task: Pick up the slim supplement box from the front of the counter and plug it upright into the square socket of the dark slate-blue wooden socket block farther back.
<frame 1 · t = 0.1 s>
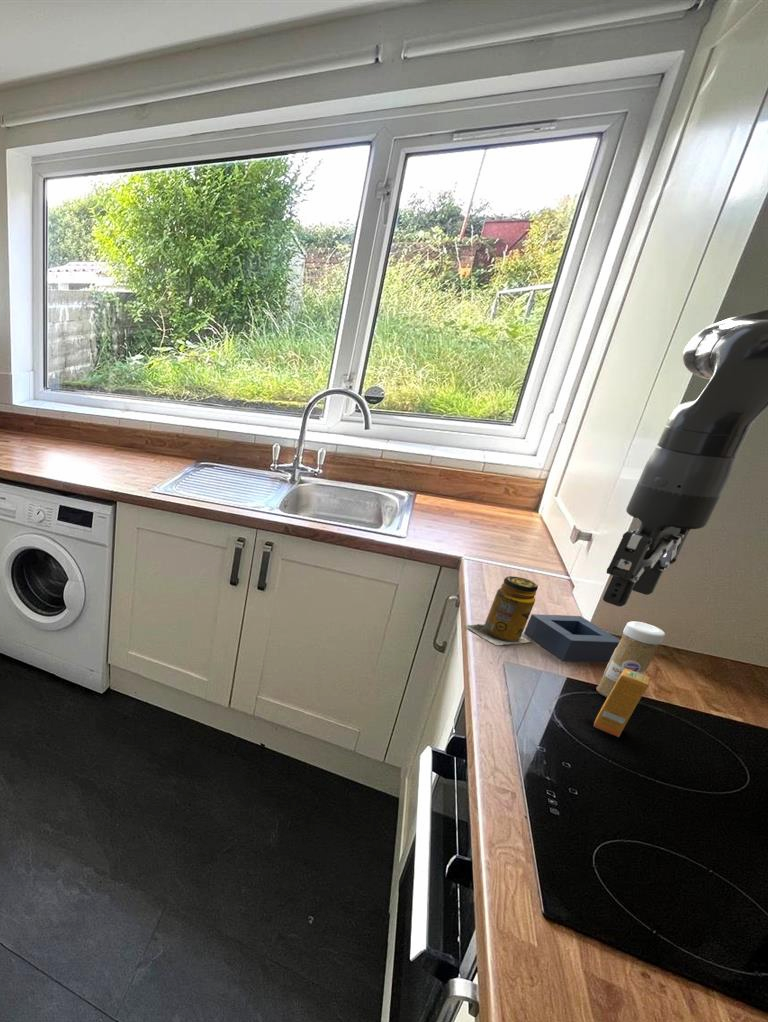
hand: (627, 597, 80), 24 cm above the countertop, tool pointing down, fingers open, 8 cm apart
condiment: (496, 635, 117), on the countertop
supplement box: (607, 729, 91), on the countertop
socket block: (567, 647, 113), on the countertop
sprinkles bottle: (612, 696, 99), on the countertop
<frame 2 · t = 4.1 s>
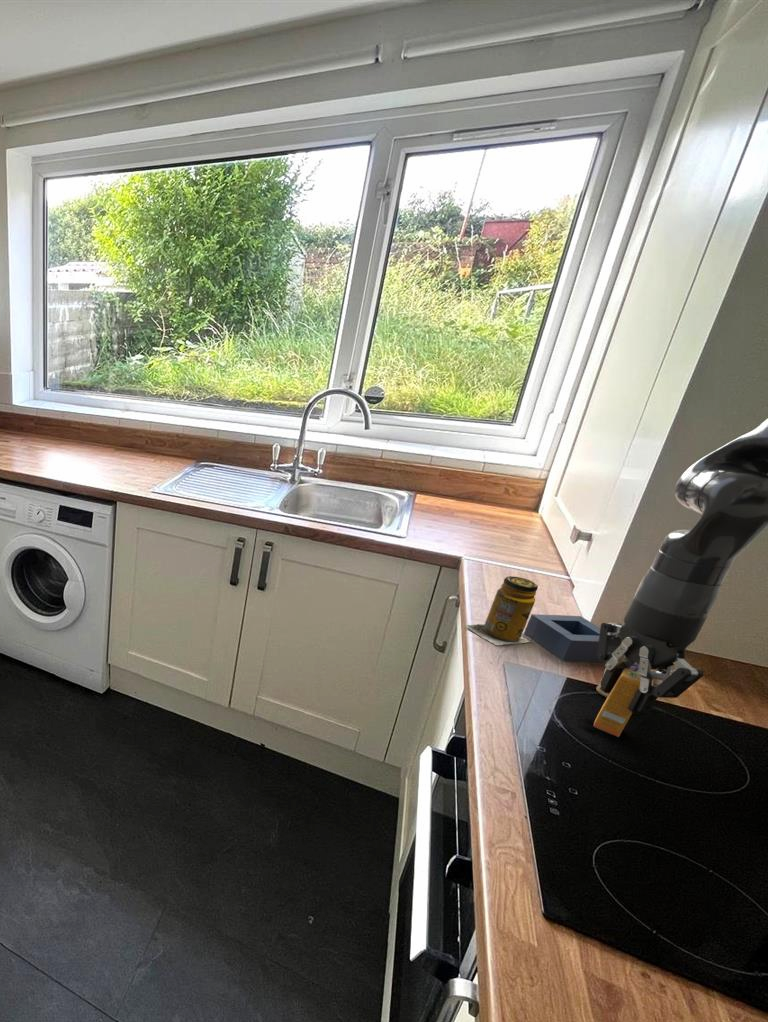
hand: (621, 700, 89), 5 cm above the countertop, tool pointing down, fingers closed on supplement box, 4 cm apart
supplement box: (607, 729, 91), on the countertop, touching gripper
everything else where it was.
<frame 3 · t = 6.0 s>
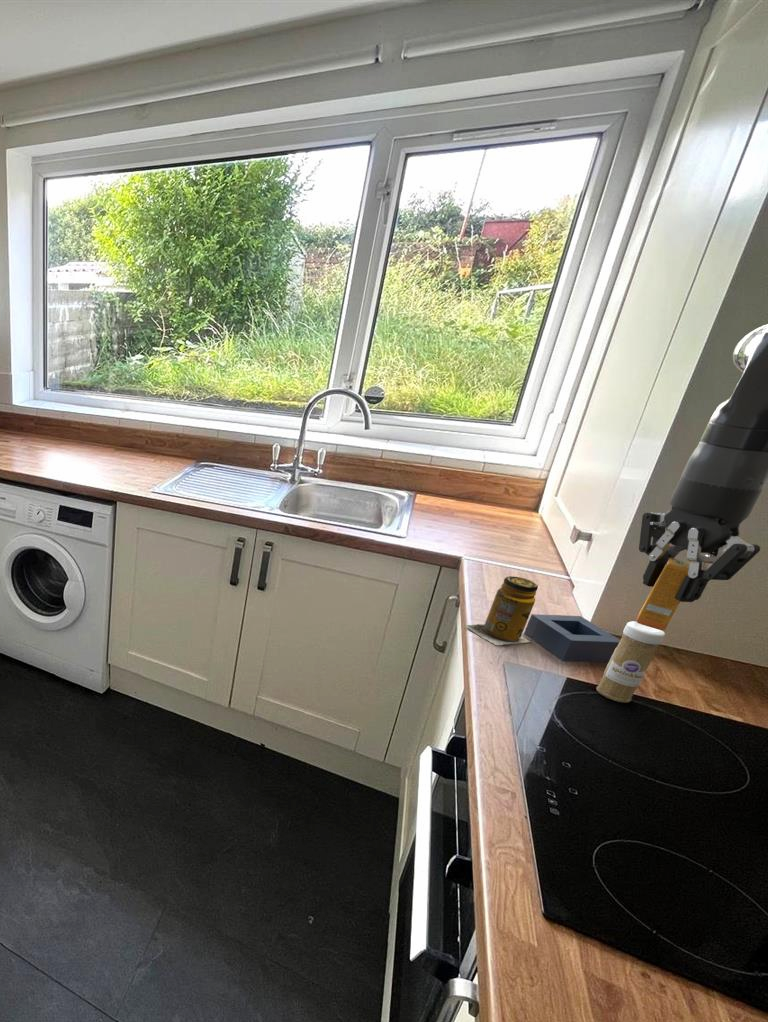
hand: (667, 592, 84), 23 cm above the countertop, tool pointing down, fingers closed on supplement box, 4 cm apart
supplement box: (651, 625, 86), point 18 cm above the countertop, touching gripper
everything else where it was.
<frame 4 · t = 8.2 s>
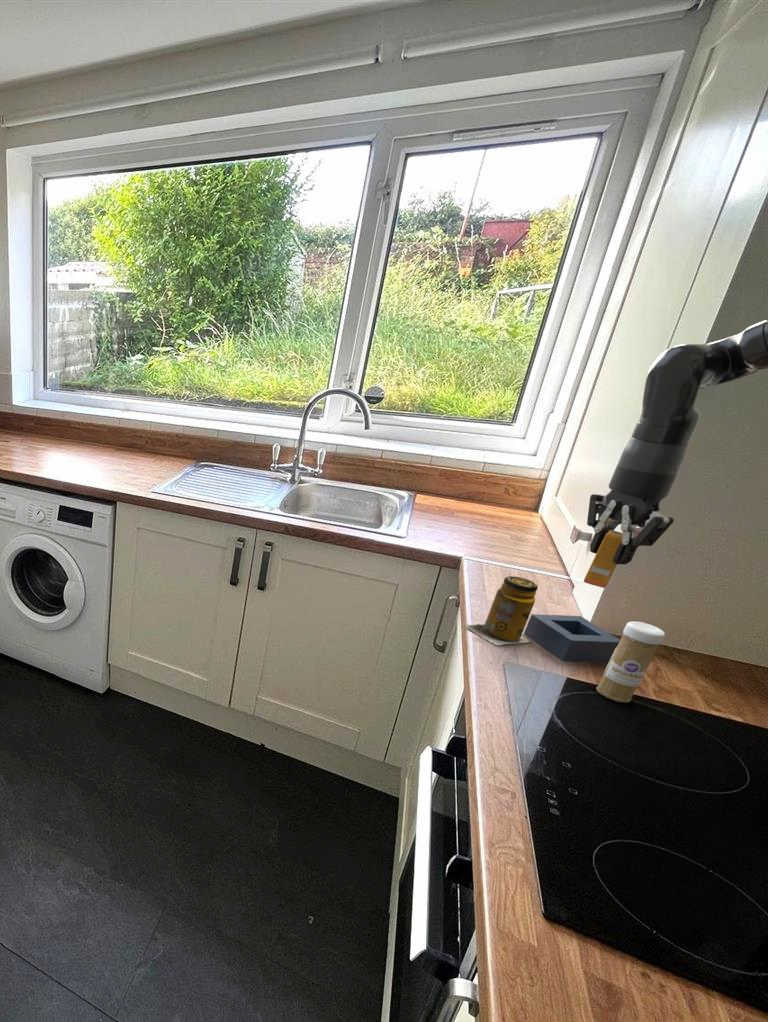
hand: (607, 557, 106), 19 cm above the countertop, tool pointing down, fingers closed on supplement box, 4 cm apart
supplement box: (595, 584, 108), point 14 cm above the countertop, touching gripper
everything else where it was.
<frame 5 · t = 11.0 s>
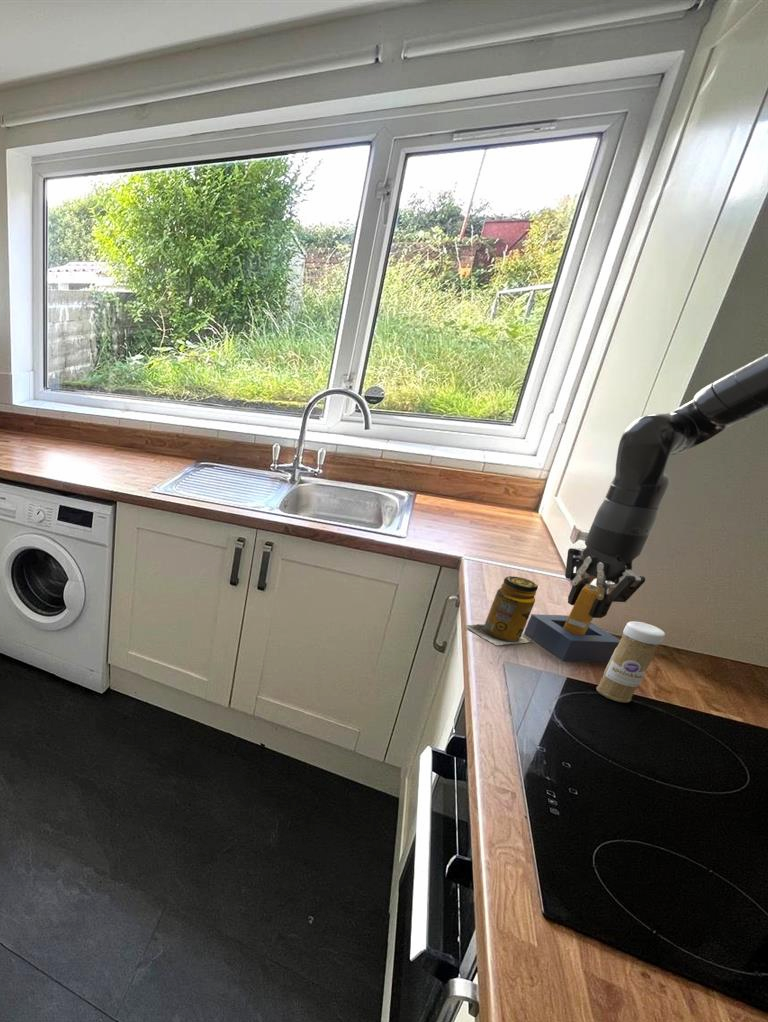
hand: (584, 610, 110), 8 cm above the countertop, tool pointing down, fingers closed on supplement box, 4 cm apart
supplement box: (573, 635, 112), point 3 cm above the countertop, touching gripper
everything else where it was.
when the fingers open (5 cm above the countertop, at t = 12.7 s): supplement box stays where it is, resting in socket block.
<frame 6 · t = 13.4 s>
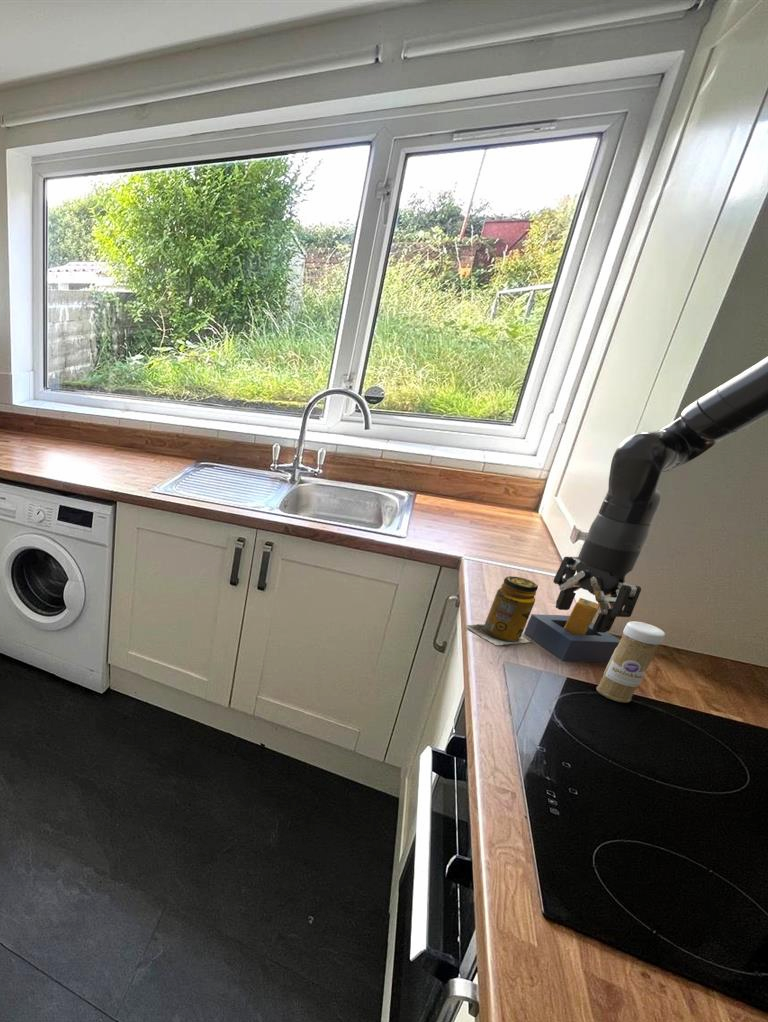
hand: (579, 619, 111), 6 cm above the countertop, tool pointing down, fingers open, 8 cm apart
supplement box: (567, 648, 113), resting in socket block
everything else where it was.
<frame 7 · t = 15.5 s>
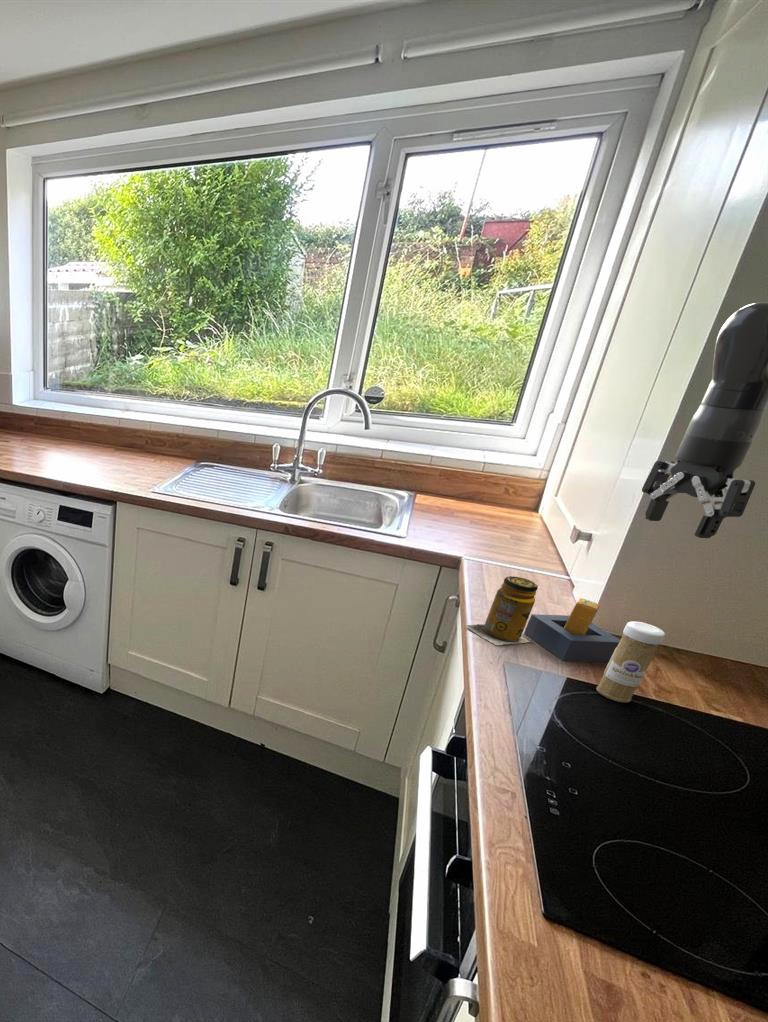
hand: (676, 528, 100), 26 cm above the countertop, tool pointing down, fingers open, 8 cm apart
nothing on the countertop moved.
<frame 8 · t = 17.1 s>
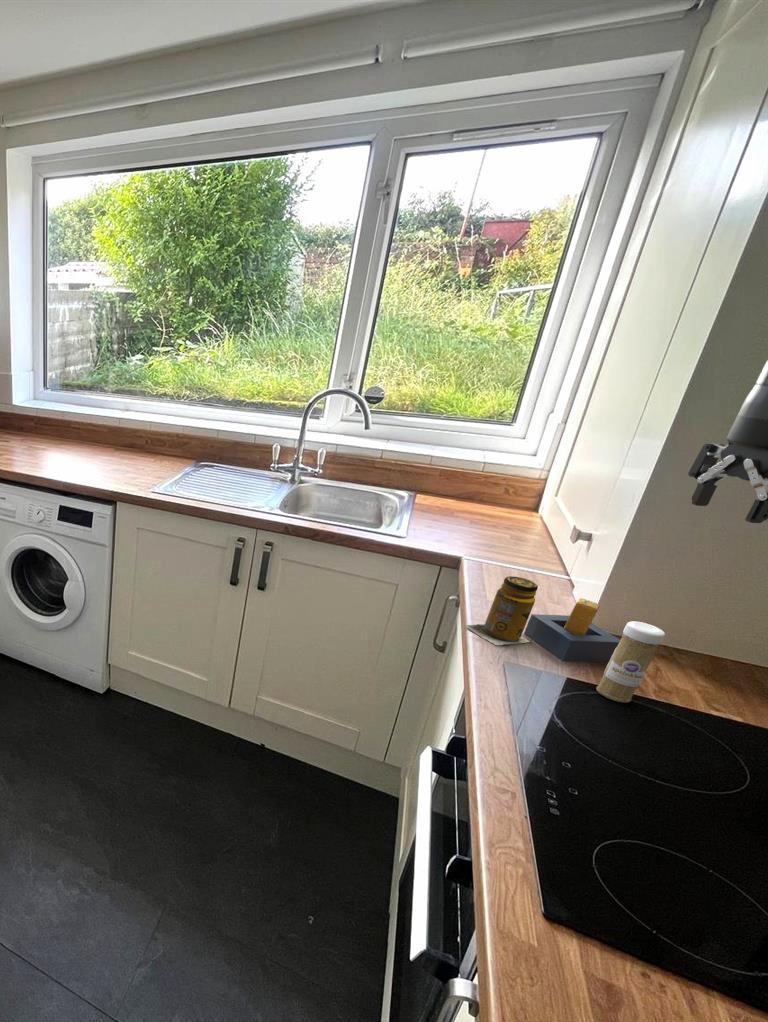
hand: (724, 513, 97), 30 cm above the countertop, tool pointing down, fingers open, 8 cm apart
nothing on the countertop moved.
at the end: supplement box 0.1 cm off-centre in the socket block, point 0.0 cm above the socket block's base; supplement box tilted 0°; the gripper is holding nothing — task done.
